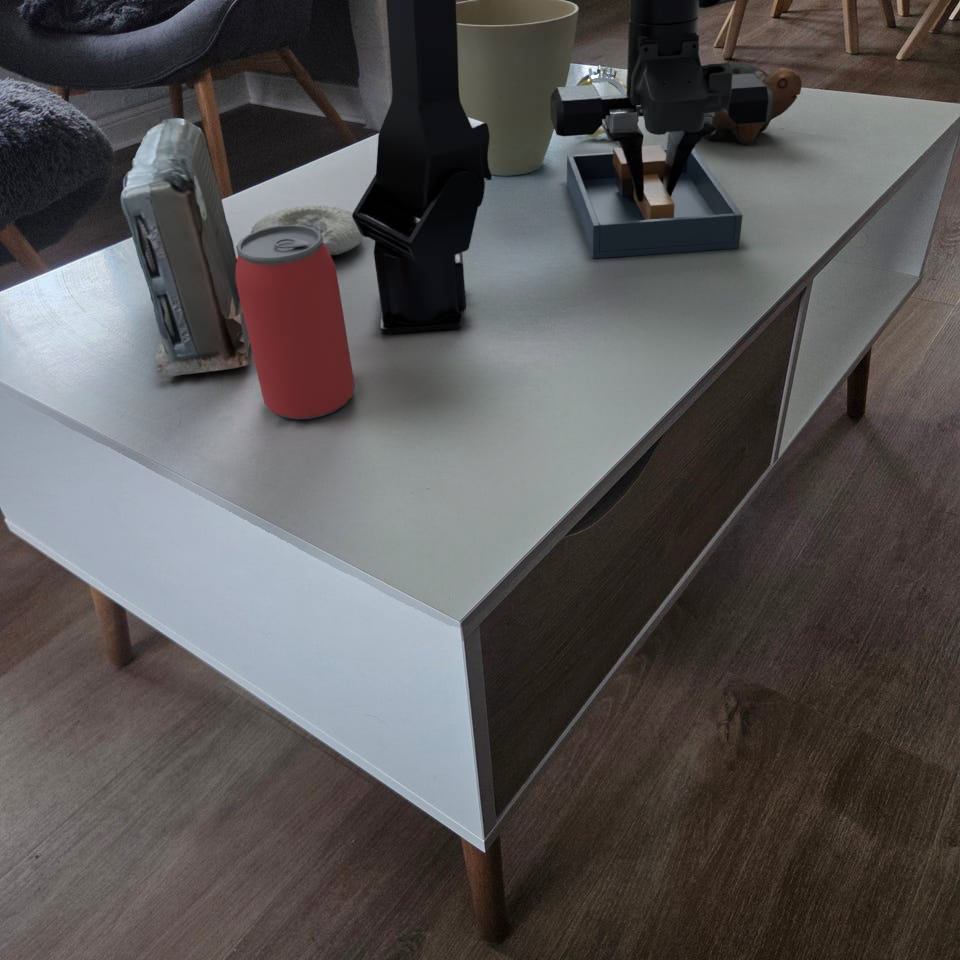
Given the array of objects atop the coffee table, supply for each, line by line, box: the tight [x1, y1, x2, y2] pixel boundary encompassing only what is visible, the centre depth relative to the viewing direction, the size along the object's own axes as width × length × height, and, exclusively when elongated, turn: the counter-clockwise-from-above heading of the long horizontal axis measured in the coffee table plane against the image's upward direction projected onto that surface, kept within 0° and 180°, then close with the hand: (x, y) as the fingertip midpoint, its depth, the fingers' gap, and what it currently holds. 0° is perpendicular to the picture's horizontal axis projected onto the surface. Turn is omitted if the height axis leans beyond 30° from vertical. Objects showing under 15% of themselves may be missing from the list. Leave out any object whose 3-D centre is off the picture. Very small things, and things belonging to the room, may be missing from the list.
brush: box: [612, 144, 675, 220], centre depth 89 cm, size 13×5×3 cm, turn 3°
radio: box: [120, 117, 252, 379], centre depth 74 cm, size 23×9×15 cm, turn 5°
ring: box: [575, 64, 627, 141], centre depth 108 cm, size 7×3×8 cm, turn 69°
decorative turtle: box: [703, 62, 803, 146], centre depth 106 cm, size 10×15×8 cm, turn 62°
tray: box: [566, 147, 744, 260], centre depth 90 cm, size 13×19×3 cm
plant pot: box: [456, 0, 580, 177], centre depth 100 cm, size 15×15×16 cm
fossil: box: [249, 204, 364, 256], centre depth 87 cm, size 11×4×10 cm
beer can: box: [235, 225, 356, 420], centre depth 63 cm, size 7×7×12 cm
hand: (652, 199), depth 87 cm, fingers closed on brush, 2 cm apart
